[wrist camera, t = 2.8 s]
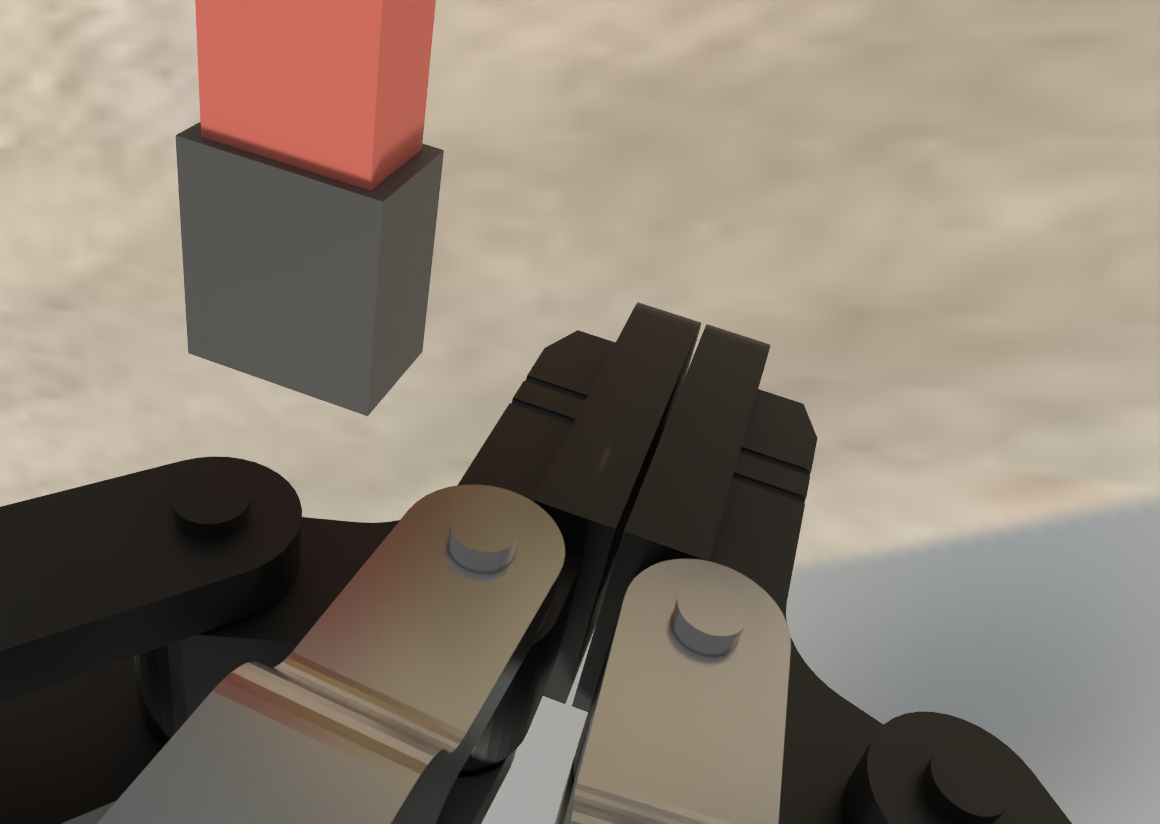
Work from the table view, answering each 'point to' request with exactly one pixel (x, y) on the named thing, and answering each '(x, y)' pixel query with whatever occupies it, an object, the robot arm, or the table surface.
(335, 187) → the lever
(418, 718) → the robot arm
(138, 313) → the table surface
